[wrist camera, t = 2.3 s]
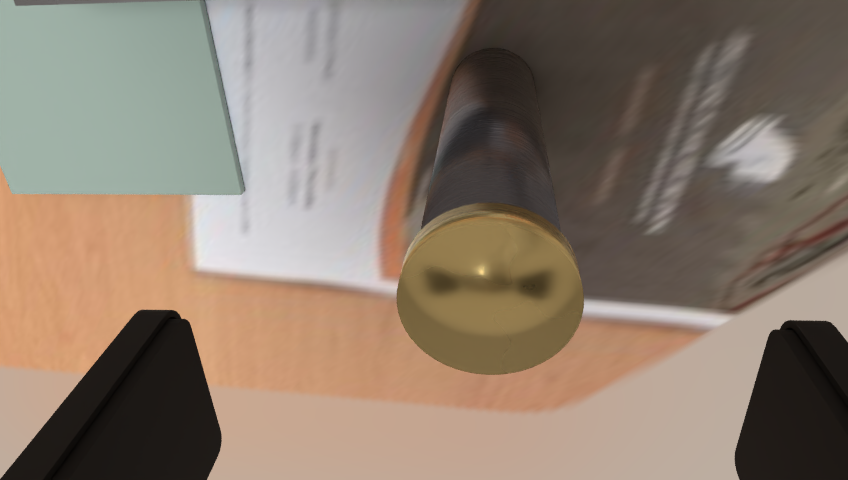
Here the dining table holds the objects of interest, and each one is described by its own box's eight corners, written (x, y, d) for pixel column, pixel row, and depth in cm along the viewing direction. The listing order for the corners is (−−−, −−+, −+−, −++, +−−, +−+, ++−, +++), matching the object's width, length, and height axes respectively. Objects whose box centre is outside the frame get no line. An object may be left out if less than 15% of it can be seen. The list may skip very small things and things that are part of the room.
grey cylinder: (542, 40, 21) (592, 224, 10) (537, 135, 23) (576, 377, 12) (443, 43, 22) (390, 223, 11) (446, 135, 23) (402, 371, 12)
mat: (186, -86, 20) (180, -85, 20) (244, 190, 25) (241, 194, 25) (-92, -73, 21) (-101, -72, 21) (18, 189, 27) (12, 193, 26)
